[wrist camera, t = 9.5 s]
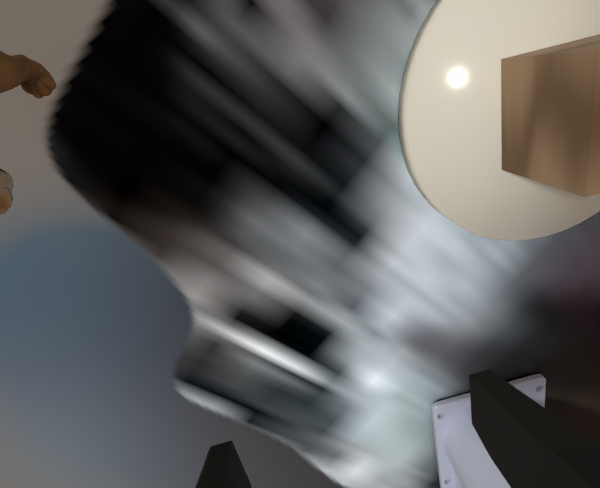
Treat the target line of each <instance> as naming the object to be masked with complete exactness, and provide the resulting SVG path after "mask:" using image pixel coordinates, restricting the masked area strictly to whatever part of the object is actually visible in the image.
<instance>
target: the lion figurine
mask: <svg viewBox="0 0 600 488" xmlns="http://www.w3.org/2000/svg"><path fill="white" fill-rule="evenodd" d="M20 84H21V86H22V88H23V89H24V91H25V92H27V93H30V94H33V95H34V96H35V97H37V98H42V97H43V96H48V95H50V94H51V93H52V90H53V89H54V88H55V87H56V83H55V81H54V80H53V78H52V76H51V75H50V73H49V72H48V71H47V70H46V69H45V68H44V67H43V66H42V65H41V64H39V63H38V62H36V61H33V60H31V59H29V58H27V57H26V56H24V55H14V56H10V55H7V54H5V53H3V52H1V51H0V93H2V92H5V91H8V90H10V89H13V88H14V87H17V86H19V85H20ZM12 190H13V179H12V177H11V176H10V174H9V173H7V172H6V171H4V170H2V169H0V215H1V214H4V213H5V212H6V211H7V210H8V209H9V208H10V207H11V204H12V201H13V197H12V194H11V192H12Z"/></svg>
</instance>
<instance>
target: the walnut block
mask: <svg viewBox="0 0 600 488" xmlns="http://www.w3.org/2000/svg"><path fill="white" fill-rule="evenodd" d="M501 140H502V170H504V171H507V172H510V173H513V174H516V175H519V176H522V177H525V178H528V179H531V180H534V181H537V182H540V183H543V184H546V185H549V186H552V187H555V188H558V189H561V190H564V191H567V192H570V193H573V194H576V195H579V196H582V197H589V196H592V195H596V194H600V34H599V35H595V36H591V37H587V38H583V39H579V40H575V41H571V42H567V43H563V44H559V45H555V46H551V47H547V48H543V49H539V50H535V51H531V52H527V53H523V54H519V55H515V56H511V57H507V58H503V59H501Z"/></svg>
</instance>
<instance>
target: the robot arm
mask: <svg viewBox="0 0 600 488" xmlns="http://www.w3.org/2000/svg"><path fill="white" fill-rule="evenodd" d="M469 380H470V393H466V394H463V395H459V396H456V397H452V398H448V399H445V400H441V401H438V402H435V403H434V404H433V405H432V408H431V410H432V419H433V428H434V436H435V445H436V454H437V463H438V472H439V481H440V488H600V442H598V441H596V440H595V439H593V438H591V437H590V436H588V435H586V434H585V433H583V432H582V431H580V430H578V429H577V428H575V427H574V426H572V425H570V424H569V423H567V422H566V421H564V420H563V419H561V418H560V417H558V416H557V415H555V414H553V413H552V412H550V411H549V410H547V409H546V408H545V391H546V379H545V378H544V377H543V376H542V375H541V374H535V375H531V376H527V377H524V378H520V379H517V380H513V381H509V382H507V381H505V380H504V379H502V378H501V377H500V376H498V375H497V374H495V373H494V372H492V371H491V370H485V371H482V372H478V373H474V374H471V375H469ZM196 488H251V484H250V482H249V479H248V477H247V475H246V472H245V470H244V468H243V465H242V463H241V461H240V458H239V456H238V454H237V451H236V449H235V447H234V445H233V442H232V441H229V442H226V443H222V444H218V445H214V446H211V448H210V449H209V451H208V454H207V457H206V460H205V463H204V466H203V469H202V471H201V474H200V477H199V479H198V482H197V485H196Z"/></svg>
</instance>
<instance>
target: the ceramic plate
mask: <svg viewBox="0 0 600 488" xmlns="http://www.w3.org/2000/svg"><path fill="white" fill-rule="evenodd" d="M599 34H600V0H437V2H436V3H435V4H434V6H433V7H432V9H431V10H430V12H429V14H428V15H427V17H426V19H425V21H424V23H423V24H422V26H421V28H420V30H419V32H418V34H417V36H416V39H415V41H414V43H413V46H412V48H411V50H410V53H409V56H408V60H407V63H406V66H405V69H404V73H403V78H402V83H401V88H400V94H399V106H398V128H399V139H400V144H401V150H402V154H403V157H404V161H405V164H406V167H407V170H408V172H409V174H410V176H411V178H412V180H413V182H414V184H415V186H416V187H417V189H418V190H419V191H420V193H421V194H422V196H423V197H424V198H425V199H426V201H427V202H428V203H429V204H430V205H431V206H432V207H433V208H434V209H435V210H437V211H438V212H439V213H441V214H442V215H443V216H444V217H446V218H447V219H449V220H450V221H452V222H453V223H455V224H456V225H458V226H460V227H462V228H464V229H465V230H467V231H469V232H471V233H474V234H477V235H480V236H483V237H486V238H492V239H497V240H509V241H518V240H530V239H535V238H540V237H545V236H549V235H552V234H555V233H558V232H561V231H564V230H566V229H568V228H570V227H572V226H575V225H577V224H579V223H581V222H582V221H584V220H586V219H588V218H589V217H591V216H593V215H594V214H596V213H597V212H599V211H600V194H596V195H592V196H589V197H582V196H579V195H576V194H573V193H570V192H567V191H564V190H561V189H558V188H555V187H552V186H549V185H546V184H543V183H540V182H537V181H534V180H531V179H528V178H525V177H522V176H519V175H516V174H513V173H510V172H507V171H504V170H502V140H501V59H503V58H507V57H511V56H515V55H519V54H523V53H527V52H531V51H535V50H539V49H543V48H547V47H551V46H555V45H559V44H563V43H567V42H571V41H575V40H579V39H583V38H587V37H591V36H595V35H599Z"/></svg>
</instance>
